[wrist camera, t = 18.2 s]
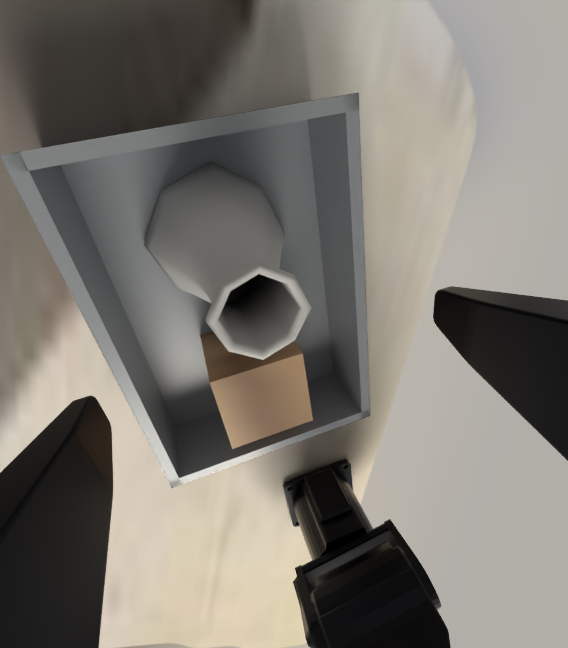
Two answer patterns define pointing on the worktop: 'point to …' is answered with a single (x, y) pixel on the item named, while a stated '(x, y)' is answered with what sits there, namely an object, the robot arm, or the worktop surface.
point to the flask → (229, 259)
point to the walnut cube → (257, 390)
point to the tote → (190, 310)
